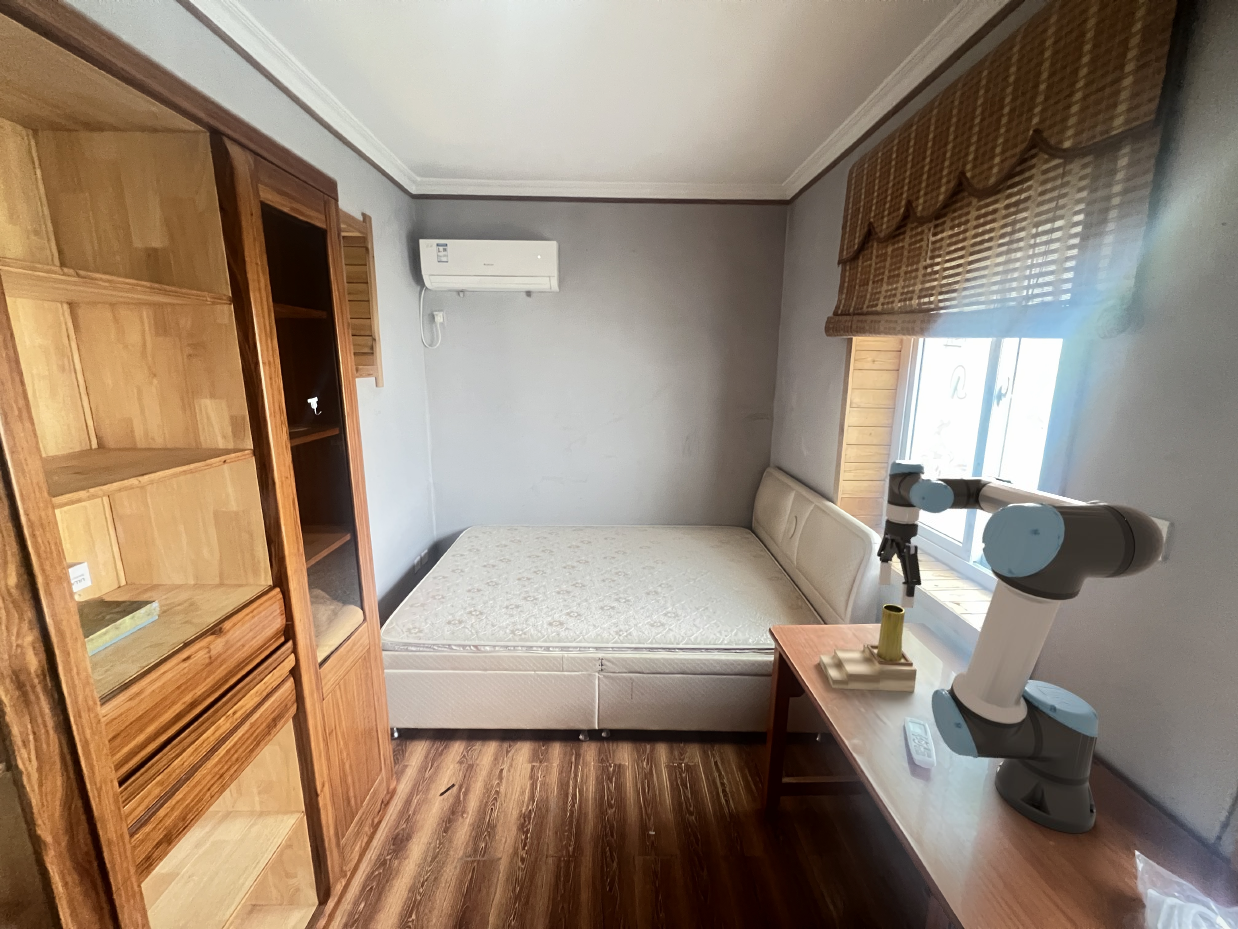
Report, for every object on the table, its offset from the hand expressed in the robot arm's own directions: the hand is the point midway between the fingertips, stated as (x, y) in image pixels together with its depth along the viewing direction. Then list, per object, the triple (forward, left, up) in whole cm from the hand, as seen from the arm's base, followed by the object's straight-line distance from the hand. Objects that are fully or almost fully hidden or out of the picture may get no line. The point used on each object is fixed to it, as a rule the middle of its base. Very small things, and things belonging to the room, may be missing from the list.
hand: (894, 595), depth 134 cm
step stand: (0, +6, -25) cm, 25 cm away
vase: (0, 0, -18) cm, 18 cm away
